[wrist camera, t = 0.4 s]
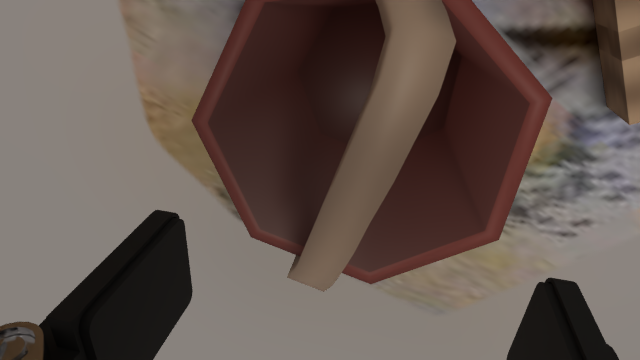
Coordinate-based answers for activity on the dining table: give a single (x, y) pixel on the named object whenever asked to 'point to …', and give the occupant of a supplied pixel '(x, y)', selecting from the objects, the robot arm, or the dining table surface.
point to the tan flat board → (620, 55)
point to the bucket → (369, 131)
